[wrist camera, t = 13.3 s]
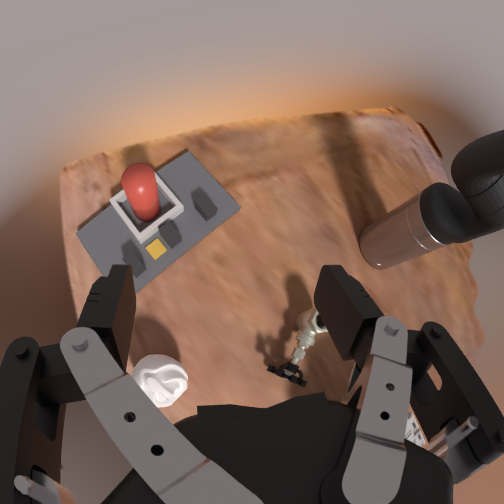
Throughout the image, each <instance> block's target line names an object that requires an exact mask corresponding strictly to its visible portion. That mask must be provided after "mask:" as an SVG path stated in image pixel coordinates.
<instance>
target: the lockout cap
mask: <svg viewBox="0 0 504 504" xmlns="http://www.w3.org/2000/svg"><path fill="white" fill-rule="evenodd" d="M121 184H122V187H123V189H124V192H125V194H126V196H127V199H128V201H129V204H130V206H131V208H132V211H133V213H134V215H135V217H136V218H137V219H138V220H140V221H142V222H150V221H152V220H154V219H156V218H157V217H158V215H159V214H160V211H161V204H160V199H159V194H158V188H157V183H156V177H155V172H154V170H153V169H152V167H150V166H149V165H147V164H144V163H137V164H133V165H131V166H129V167H128V168H127V169H126V170H125V171H124V173H123V174H122V177H121Z"/></svg>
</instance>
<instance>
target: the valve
mask: <svg viewBox="0 0 504 504" xmlns="http://www.w3.org/2000/svg"><path fill="white" fill-rule="evenodd" d="M296 324H297V326H298V328H299V329H300V331H301V333H298V334H297V336H296V340H298V342H297V344H298V347H297V348H294V350H293V352H292V354H291V356H293V359H292V361H291V362H287V363H284V364H282V365H281V366H280V368H278V369H277V370H276V369H275V367H274V366H272V365H269V366H268V368H267V371H269V372H271V373H275V374H276V375H278V376H280V377H282V378H284V379H286V380H289V381H290V382H293V383H297V384H298V385H299V386H302V387H305V386H306V384H307V381H305V380H302V378H303V373H302V371H301V370H299V369H298V368H299V366H297V363H298V361H299V360H303V358H304V356H305V354H306V352H304V350H305V349H308V348H309V346H313V345H314V343H315V341H316V340H315V339H314V338H315V336H316V335H317V334H320V333H322V332H328V330H327V328H326V326H325V324H324V322H323V321H322V319H321V317H320V315H319V313H318V311H317V309H316V308H311V309H308V310H306V311H305V312H300V314H299V316H298V318H297V320H296ZM296 372H297V373H299V375H300V376H299V378H298V377H296V376H294V375H295V374H296Z"/></svg>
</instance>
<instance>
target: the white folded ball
mask: <svg viewBox="0 0 504 504" xmlns="http://www.w3.org/2000/svg"><path fill="white" fill-rule="evenodd" d="M132 378H133V379H134V380H135V381H136V383H137V384H138V385H139V386H140V388H141V389H142V390H143V391H144V392H145V394H146V395H147V396H148V397H149V398H150V400H151V401H152V402H153V403H154V404H155V405H156V407H157V408H158V407H167V406H170V405H172V404H173V402H174V401H175V400H176V399H178V398H179V397H180V395H181V394H182V393H183V392H184V391H185V390H186V389H187V381H188V375H187V373H186V371H185V369H184V367H183V366H182V365H181V363H180V362H178V361H176V360H175V359H173V358H171V357H169V356H166V355H162V354H155V355H147V356H145V357H144V358H142V359H141V360H140V361H139V362H138V363H137V364H136V366H135V368H134V370H133V372H132Z"/></svg>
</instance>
